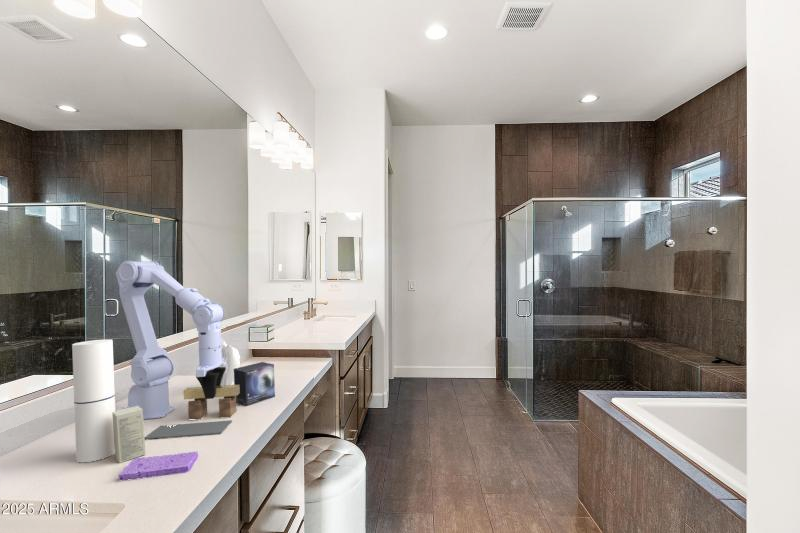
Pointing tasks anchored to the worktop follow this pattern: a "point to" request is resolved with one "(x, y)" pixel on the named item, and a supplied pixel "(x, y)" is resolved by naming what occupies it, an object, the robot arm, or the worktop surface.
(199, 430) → the mat
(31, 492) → the worktop surface
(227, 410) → the posts
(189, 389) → the rail
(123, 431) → the skincare box
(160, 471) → the sponges
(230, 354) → the shell sculpture
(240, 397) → the small box
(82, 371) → the cylindrical container
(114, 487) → the worktop surface
